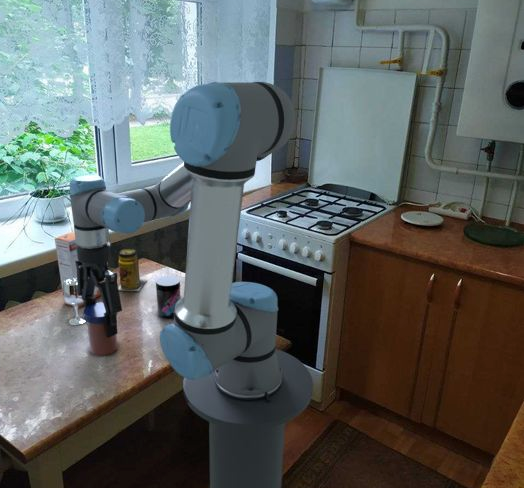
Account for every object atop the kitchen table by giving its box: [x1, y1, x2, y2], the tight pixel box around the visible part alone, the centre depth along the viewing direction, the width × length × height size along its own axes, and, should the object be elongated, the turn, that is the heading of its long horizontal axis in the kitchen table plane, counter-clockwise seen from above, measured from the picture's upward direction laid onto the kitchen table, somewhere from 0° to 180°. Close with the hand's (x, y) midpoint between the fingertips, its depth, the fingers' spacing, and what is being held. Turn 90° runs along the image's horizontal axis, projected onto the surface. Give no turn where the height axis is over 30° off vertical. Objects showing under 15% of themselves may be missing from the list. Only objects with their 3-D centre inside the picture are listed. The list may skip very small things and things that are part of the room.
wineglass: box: [62, 278, 87, 326], centre depth 135 cm, size 6×6×12 cm
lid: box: [82, 301, 118, 324], centre depth 121 cm, size 8×8×2 cm
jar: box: [86, 322, 118, 357], centre depth 123 cm, size 7×7×11 cm
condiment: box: [118, 248, 147, 292], centre depth 157 cm, size 7×8×12 cm
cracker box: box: [54, 230, 109, 308], centre depth 147 cm, size 14×6×21 cm, turn 154°
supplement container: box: [155, 275, 181, 319], centre depth 141 cm, size 7×7×10 cm
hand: (101, 329), depth 123 cm, fingers closed on lid, 8 cm apart
